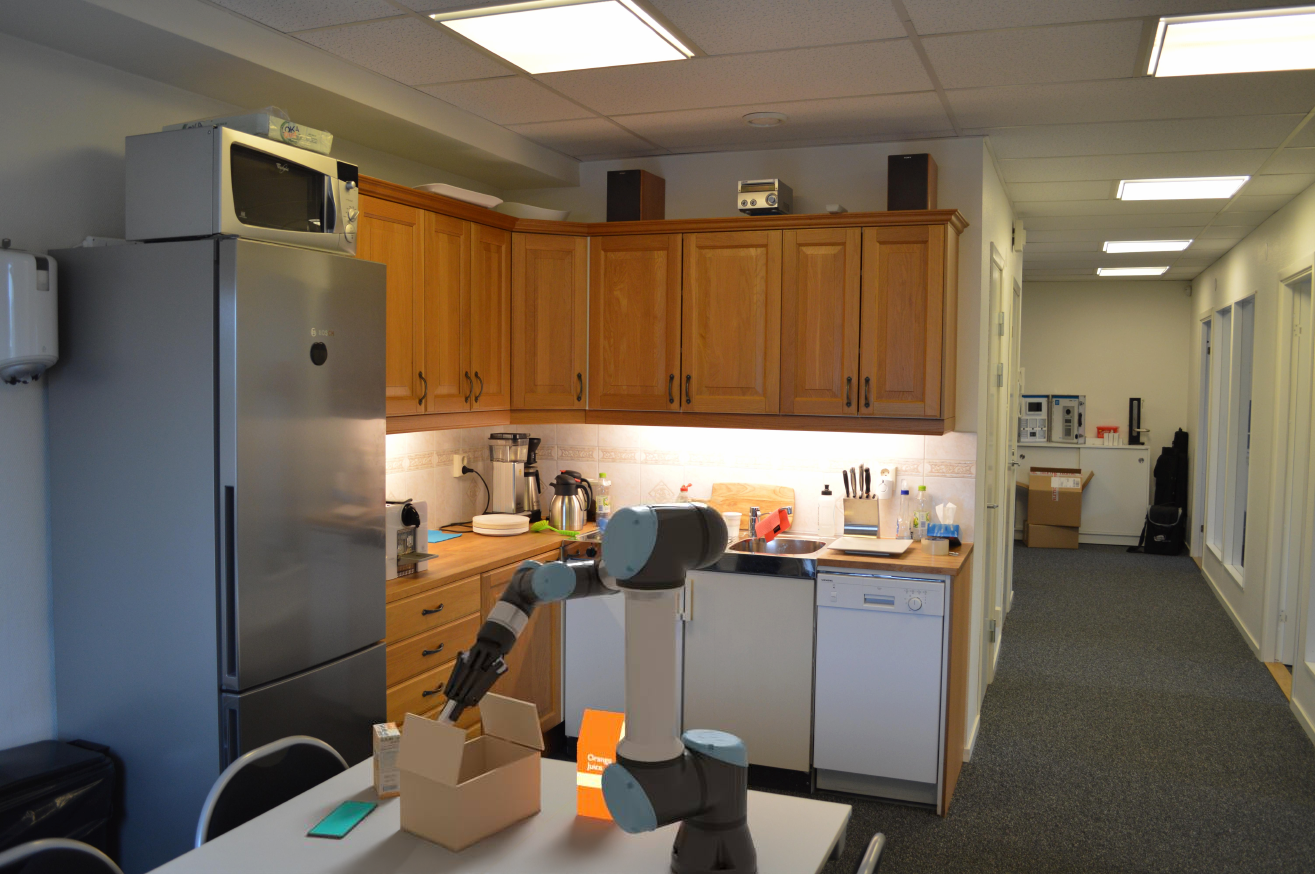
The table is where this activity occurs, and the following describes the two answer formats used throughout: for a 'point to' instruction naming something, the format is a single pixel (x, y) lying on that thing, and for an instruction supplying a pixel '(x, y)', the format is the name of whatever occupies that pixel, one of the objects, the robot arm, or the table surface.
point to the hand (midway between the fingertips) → (437, 734)
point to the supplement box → (386, 759)
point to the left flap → (431, 749)
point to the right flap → (511, 720)
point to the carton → (473, 795)
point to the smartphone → (343, 819)
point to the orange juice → (596, 759)
